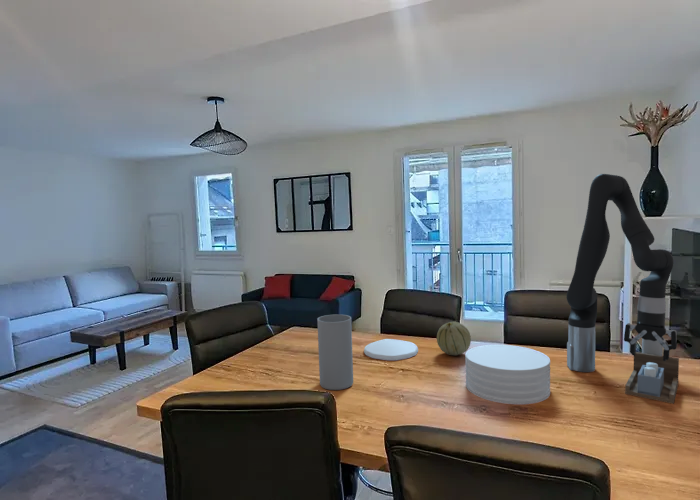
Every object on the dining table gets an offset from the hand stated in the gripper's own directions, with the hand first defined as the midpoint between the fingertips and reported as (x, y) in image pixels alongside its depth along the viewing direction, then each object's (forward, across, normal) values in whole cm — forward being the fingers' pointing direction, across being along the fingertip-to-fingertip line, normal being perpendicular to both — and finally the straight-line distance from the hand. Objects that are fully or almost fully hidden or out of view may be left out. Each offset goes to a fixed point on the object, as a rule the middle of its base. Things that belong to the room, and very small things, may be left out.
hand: (648, 357), depth 142 cm
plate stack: (+14, +38, +24) cm, 47 cm away
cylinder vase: (+15, +88, +59) cm, 107 cm away
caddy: (+11, -1, -1) cm, 11 cm away
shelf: (+12, -1, -5) cm, 13 cm away
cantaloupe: (+14, +71, +2) cm, 72 cm away
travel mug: (+12, +1, -22) cm, 26 cm away
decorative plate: (+15, +96, +15) cm, 98 cm away
